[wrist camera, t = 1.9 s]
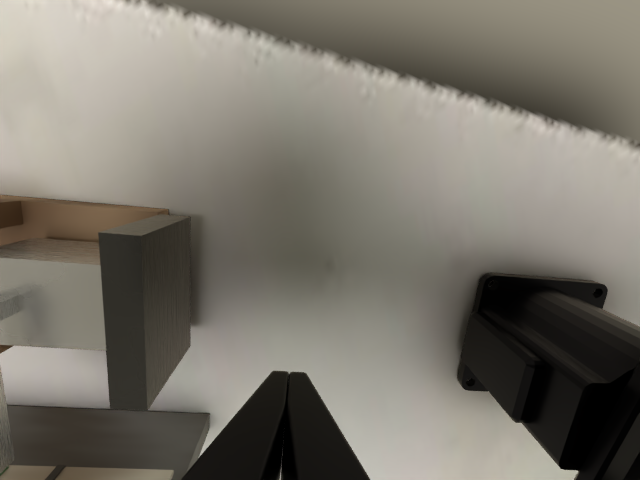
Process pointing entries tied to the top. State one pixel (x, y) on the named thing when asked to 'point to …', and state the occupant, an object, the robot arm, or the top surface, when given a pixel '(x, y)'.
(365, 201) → the top surface
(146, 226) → the box with dark endplate
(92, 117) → the top surface
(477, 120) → the top surface
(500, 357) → the robot arm
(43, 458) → the frame
